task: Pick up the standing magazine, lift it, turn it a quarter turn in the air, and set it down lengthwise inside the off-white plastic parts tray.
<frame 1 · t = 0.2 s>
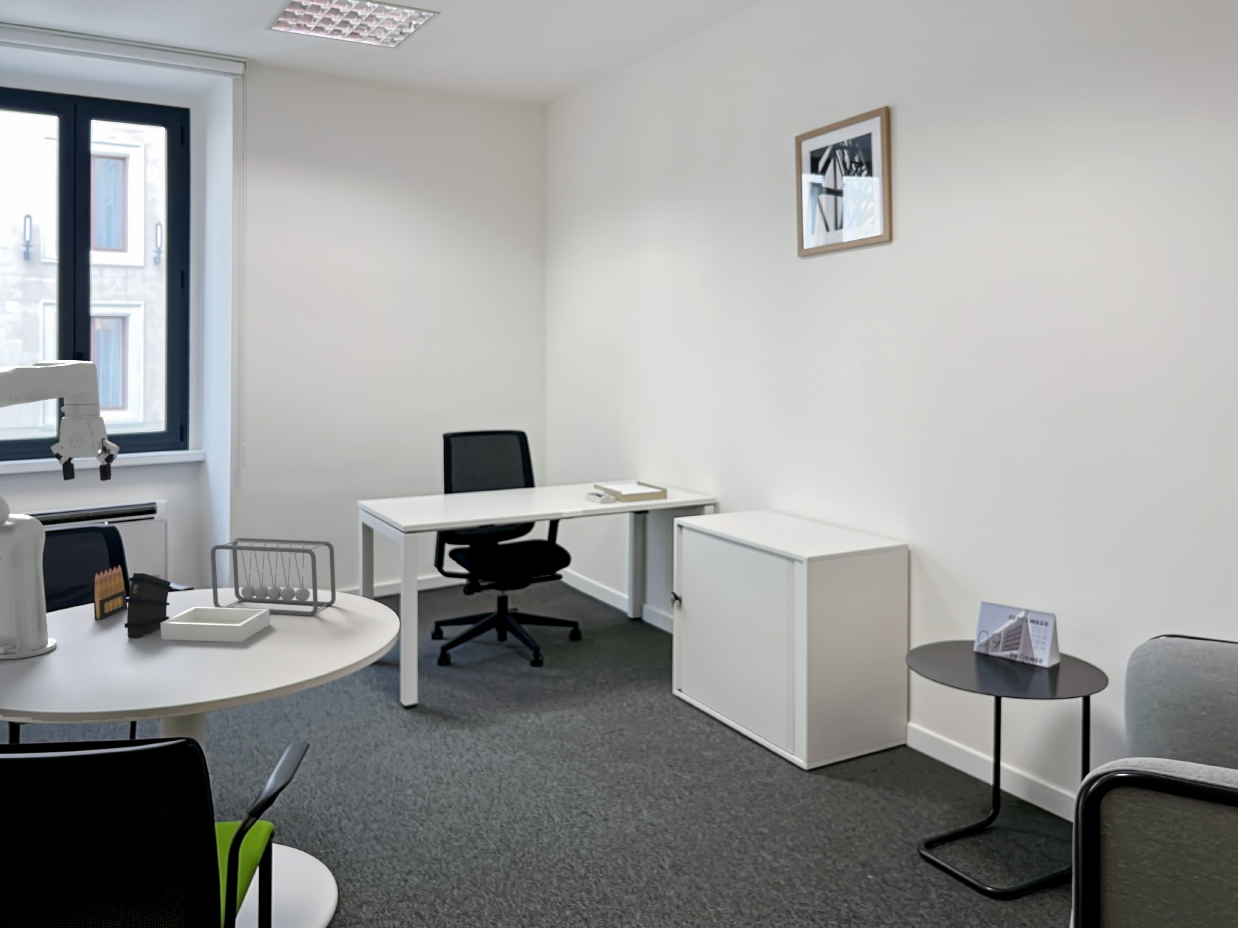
hand: (87, 479, 227), 36 cm above the table, tool pointing down, fingers open, 9 cm apart
newton's cradle: (275, 608, 243), on the table
ammunition clip: (111, 614, 238), on the table
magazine: (150, 630, 224), on the table
parts tray: (217, 631, 222), on the table
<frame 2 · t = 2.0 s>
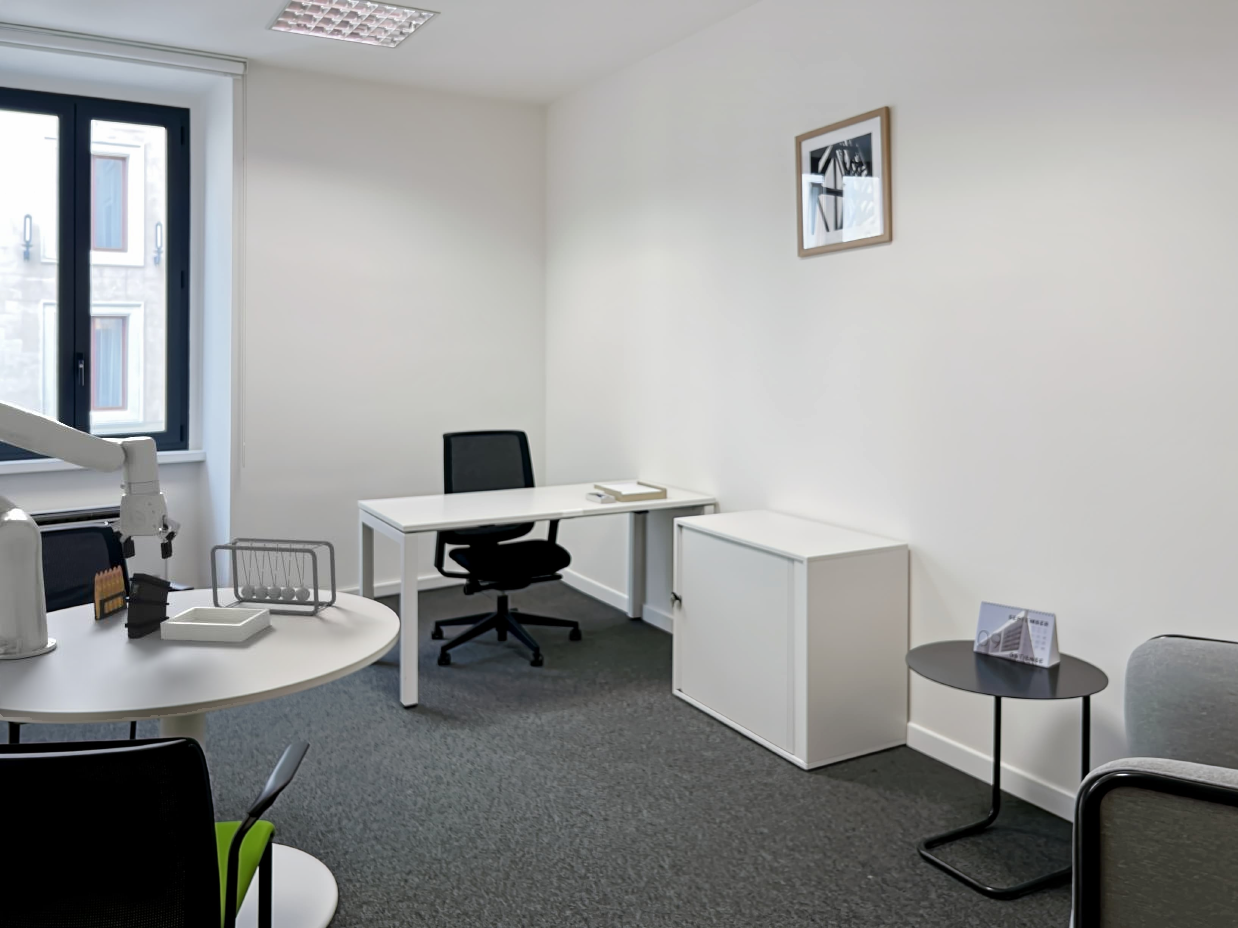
hand: (148, 557, 222), 18 cm above the table, tool pointing down, fingers open, 9 cm apart
nothing on the table moved.
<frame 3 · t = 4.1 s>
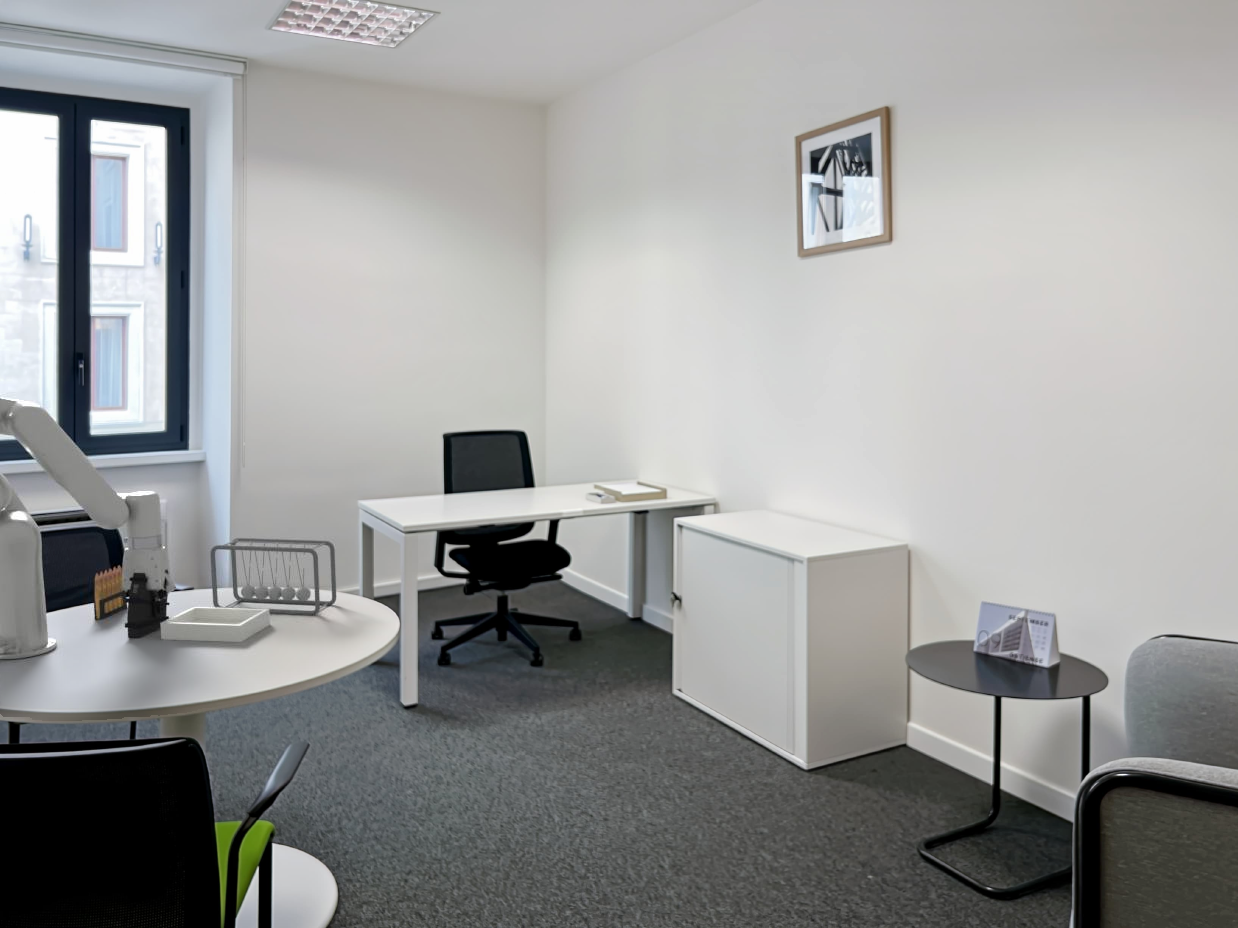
hand: (150, 614, 223), 4 cm above the table, tool pointing down, fingers closed on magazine, 3 cm apart
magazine: (151, 630, 224), on the table, touching gripper
everything else where it was.
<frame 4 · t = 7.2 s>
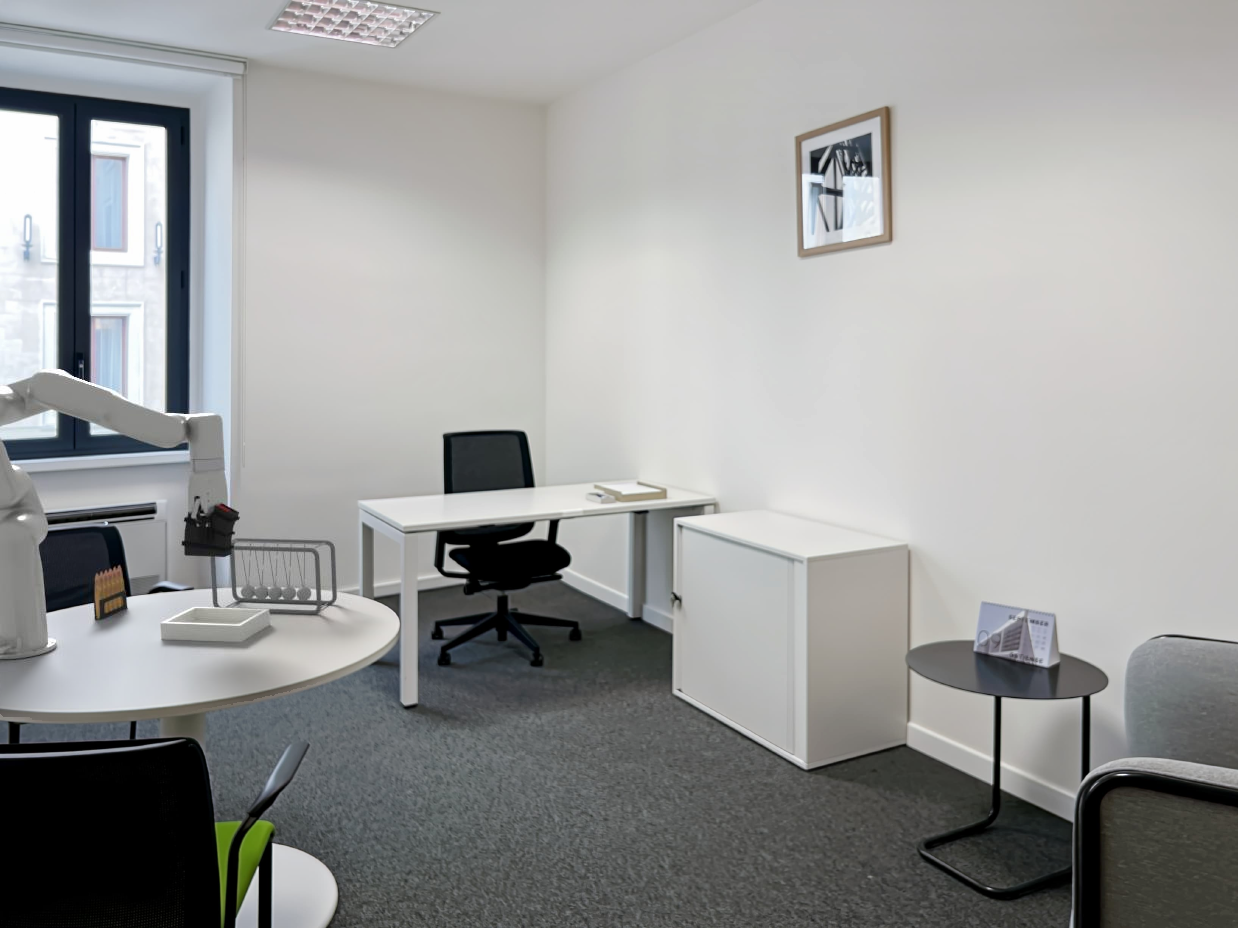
hand: (211, 539, 220), 23 cm above the table, tool pointing down, fingers closed on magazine, 3 cm apart
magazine: (212, 556, 220), point 19 cm above the table, touching gripper
everything else where it was.
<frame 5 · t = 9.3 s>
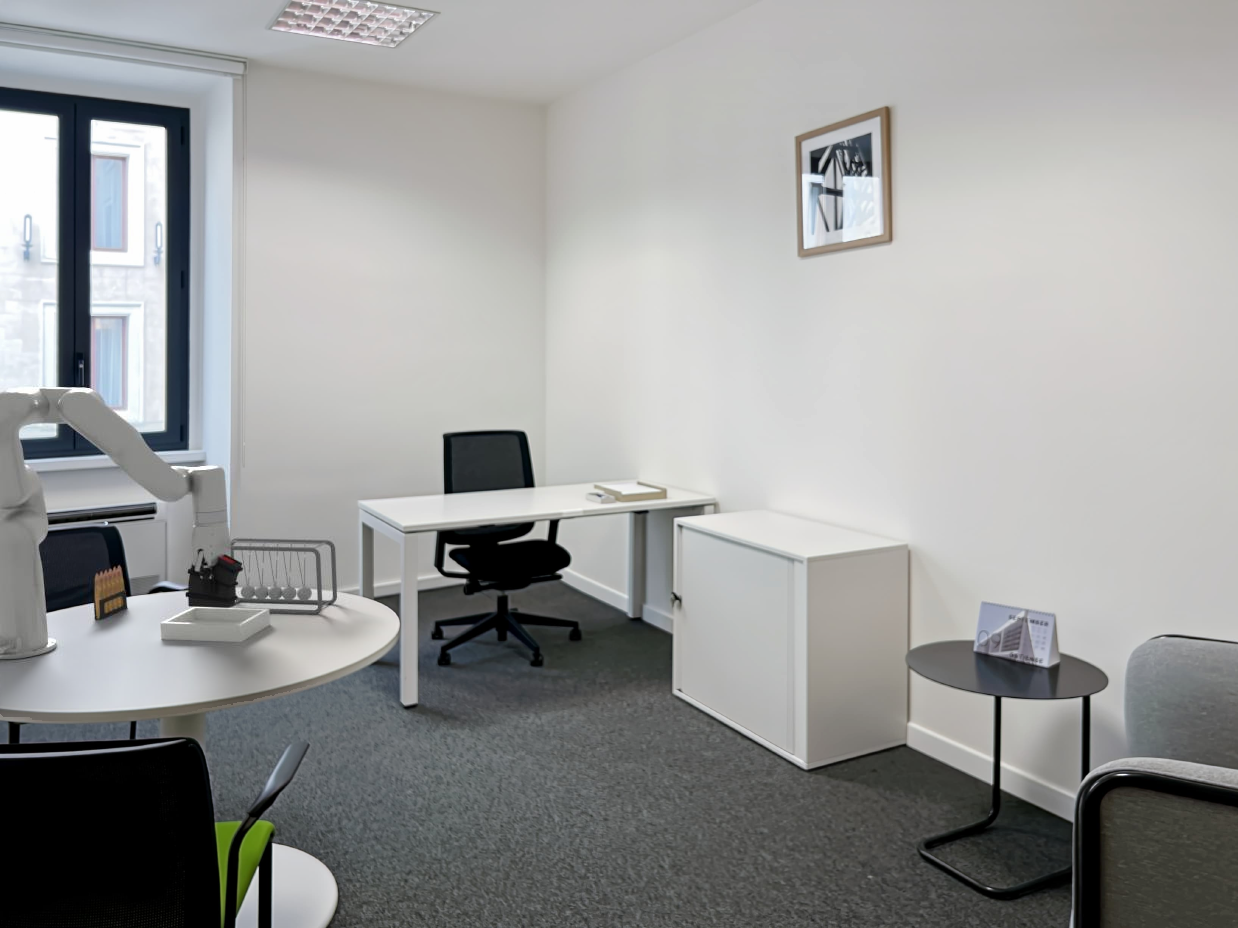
hand: (215, 590, 221), 10 cm above the table, tool pointing down, fingers closed on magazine, 3 cm apart
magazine: (216, 606, 222), point 6 cm above the table, touching gripper
everything else where it was.
when the fingers open (7 cm above the table, at t = 10.8 s): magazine drops 2 cm, resting on parts tray.
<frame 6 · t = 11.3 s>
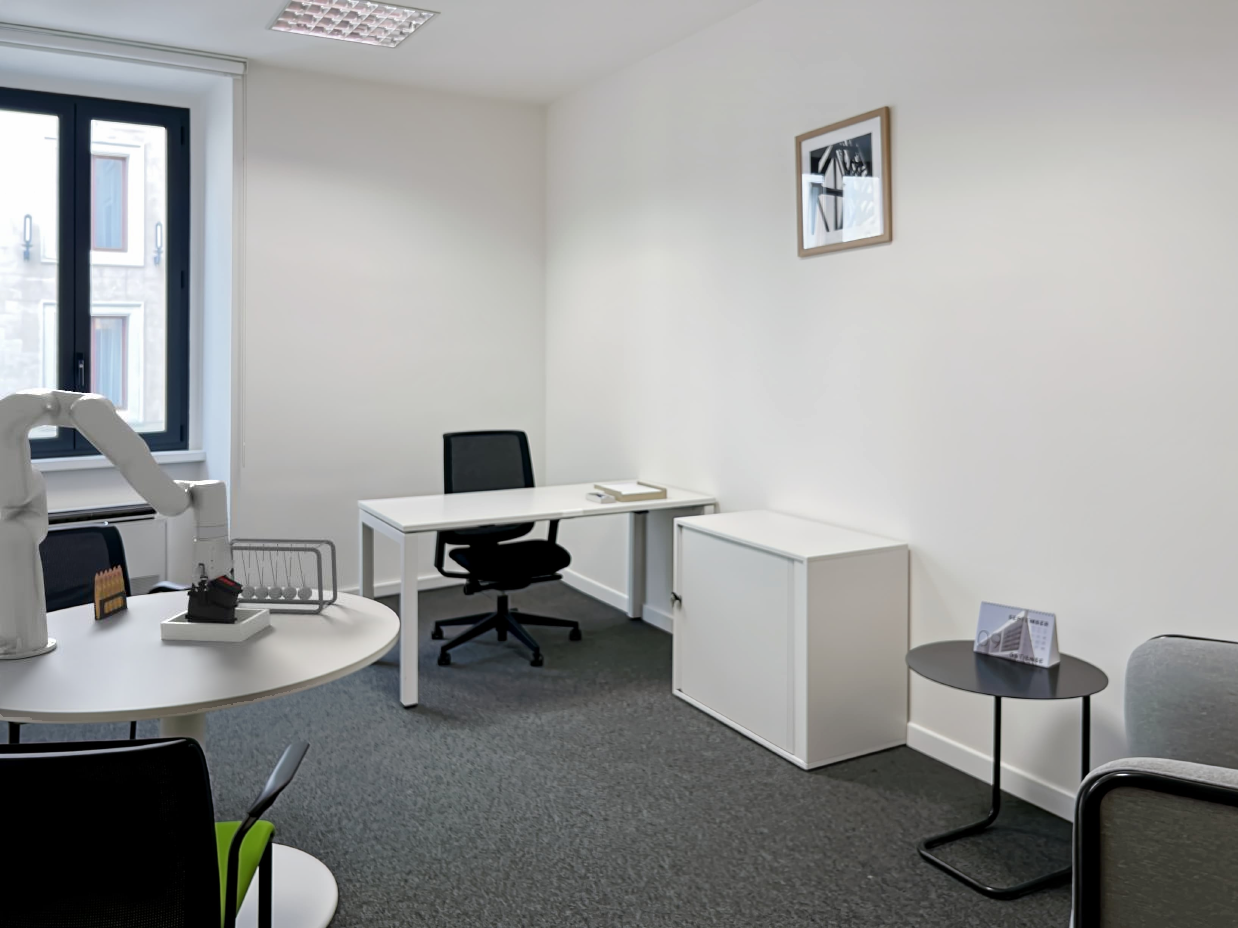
hand: (215, 601, 221), 8 cm above the table, tool pointing down, fingers open, 8 cm apart
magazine: (215, 628, 222), point 1 cm above the table, touching parts tray
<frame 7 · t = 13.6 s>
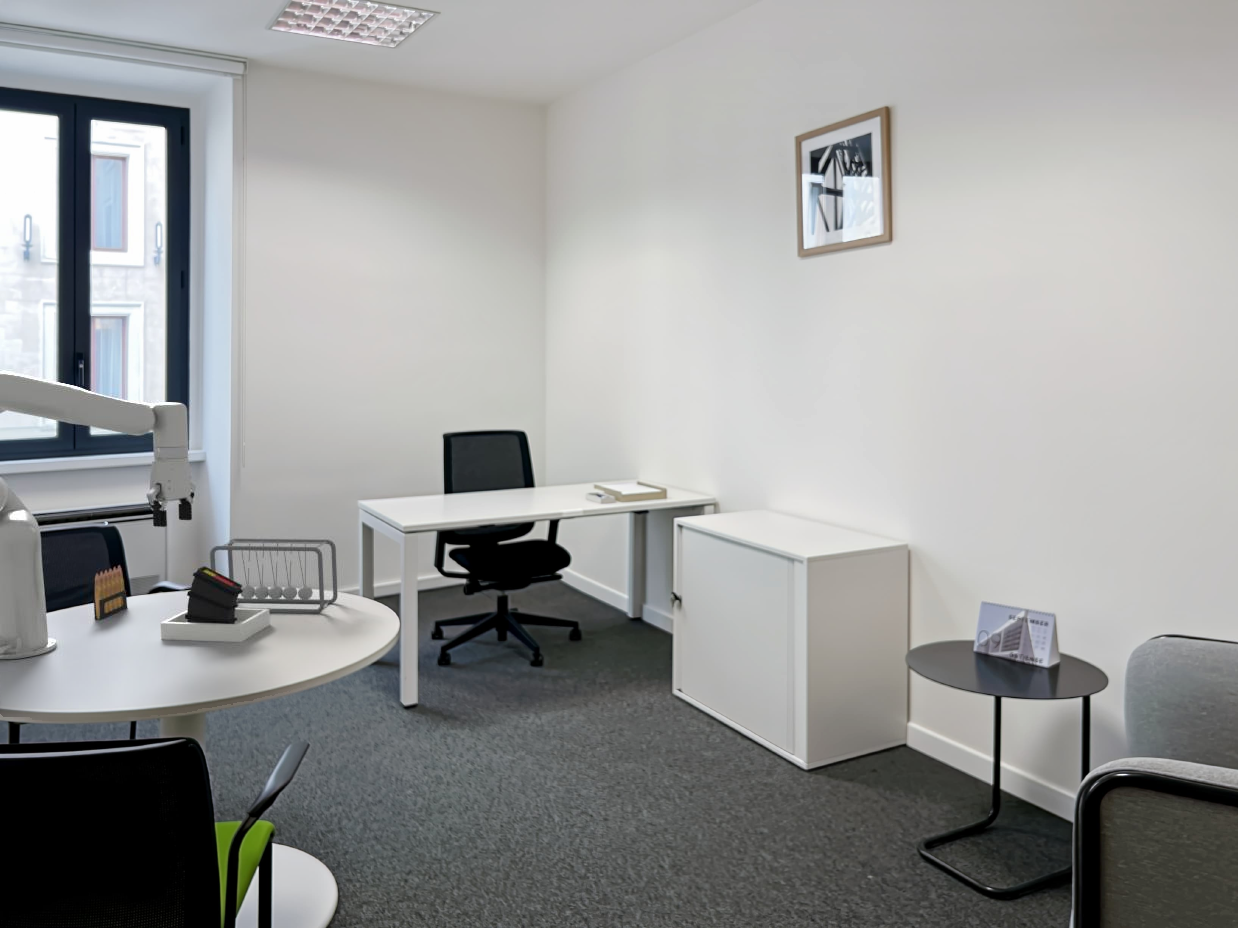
hand: (173, 523, 223), 26 cm above the table, tool pointing down, fingers open, 9 cm apart
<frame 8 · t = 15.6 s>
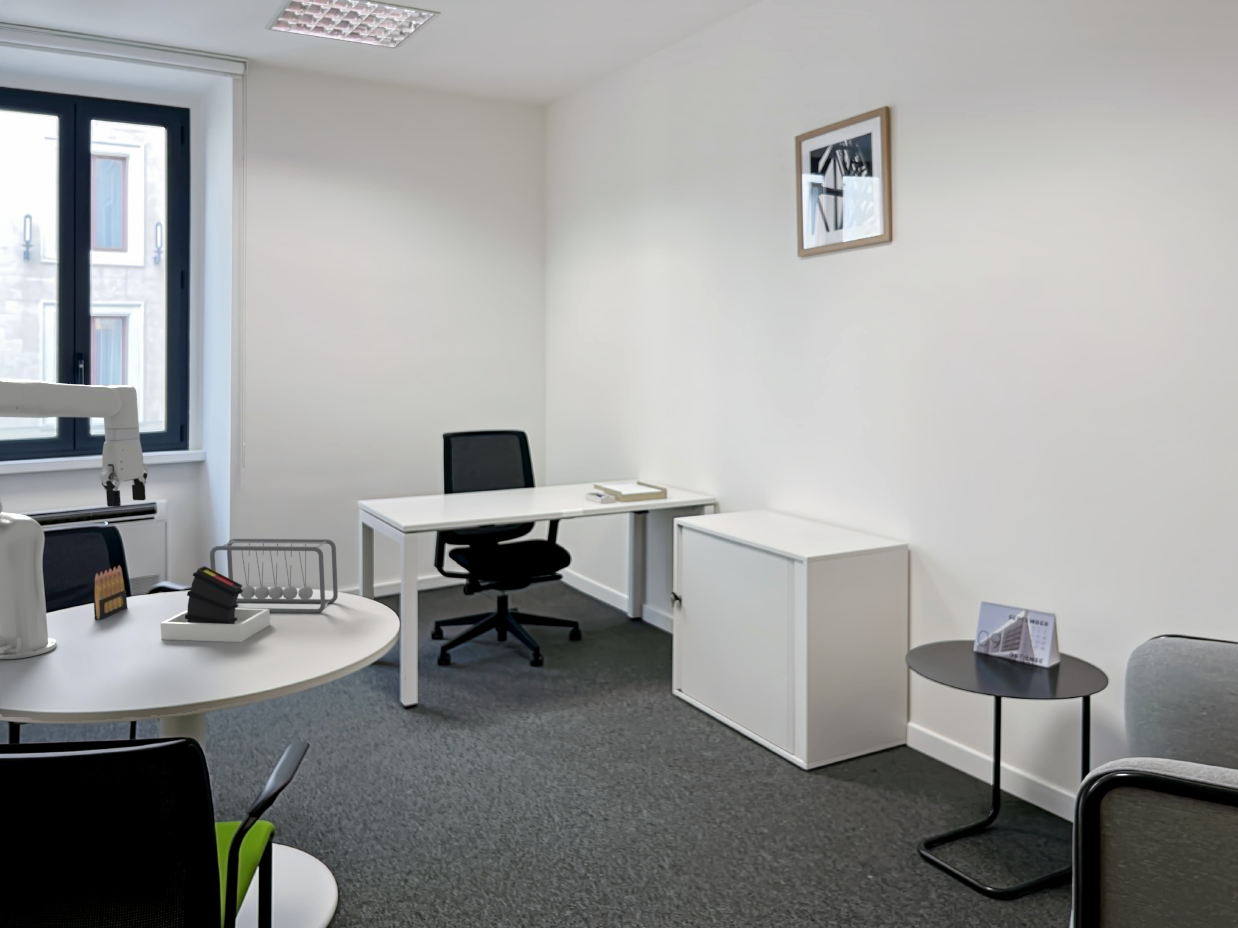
hand: (126, 503, 228), 30 cm above the table, tool pointing down, fingers open, 9 cm apart
at the end: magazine inside the target area on the parts tray (0.3 cm from its centre), point 0.8 cm above the parts tray's base; the gripper is holding nothing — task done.
